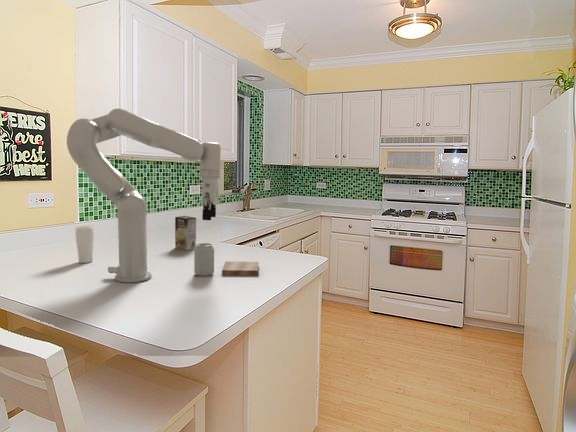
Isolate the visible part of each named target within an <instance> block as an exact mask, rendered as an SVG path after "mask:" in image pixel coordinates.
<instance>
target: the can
mask: <svg viewBox="0 0 576 432" xmlns="http://www.w3.org/2000/svg"><path fill="white" fill-rule="evenodd" d="M193 251H194V255H193V257H194V261H193V264H194V266H193V267H194V268H193V269H194V270H193V271H194V274H195V275H196V276H197V277H209V276H212V275H213V274H214V273H215V248H214V246H213V244H212V243H208V242H204V243H203V242H201V243H196V247H195V249H193Z"/></svg>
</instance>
